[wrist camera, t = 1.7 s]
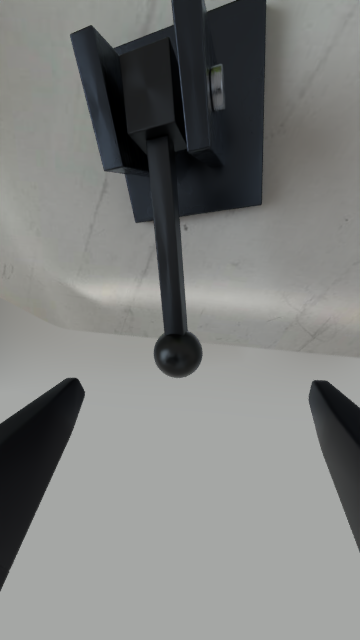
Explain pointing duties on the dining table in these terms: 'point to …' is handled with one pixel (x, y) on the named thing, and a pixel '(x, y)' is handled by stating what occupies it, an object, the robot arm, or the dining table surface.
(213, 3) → the dining table surface
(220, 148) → the lever base
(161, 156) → the lever with ball knob
